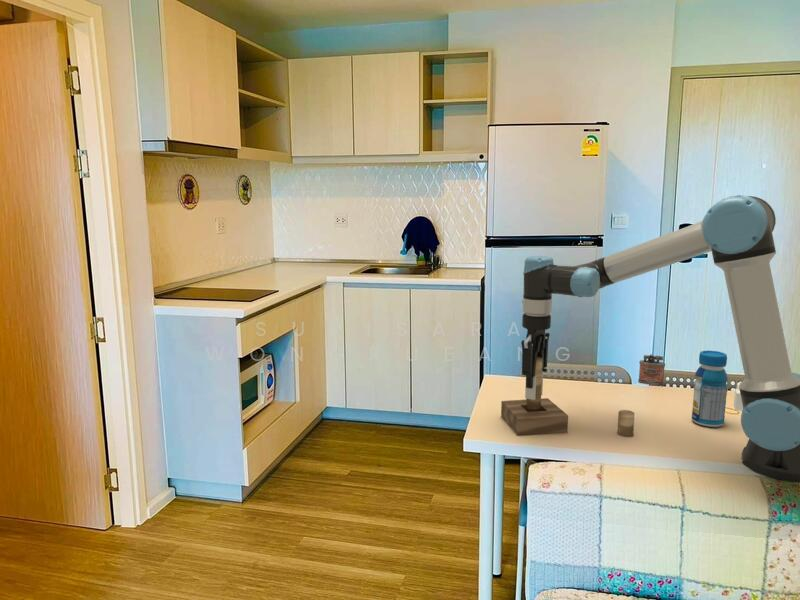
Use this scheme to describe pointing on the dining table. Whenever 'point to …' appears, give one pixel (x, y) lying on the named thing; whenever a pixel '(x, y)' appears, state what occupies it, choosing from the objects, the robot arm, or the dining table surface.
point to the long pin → (538, 373)
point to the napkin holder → (738, 399)
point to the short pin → (625, 423)
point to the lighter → (651, 370)
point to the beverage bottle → (710, 389)
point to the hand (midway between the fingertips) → (533, 396)
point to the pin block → (534, 418)
